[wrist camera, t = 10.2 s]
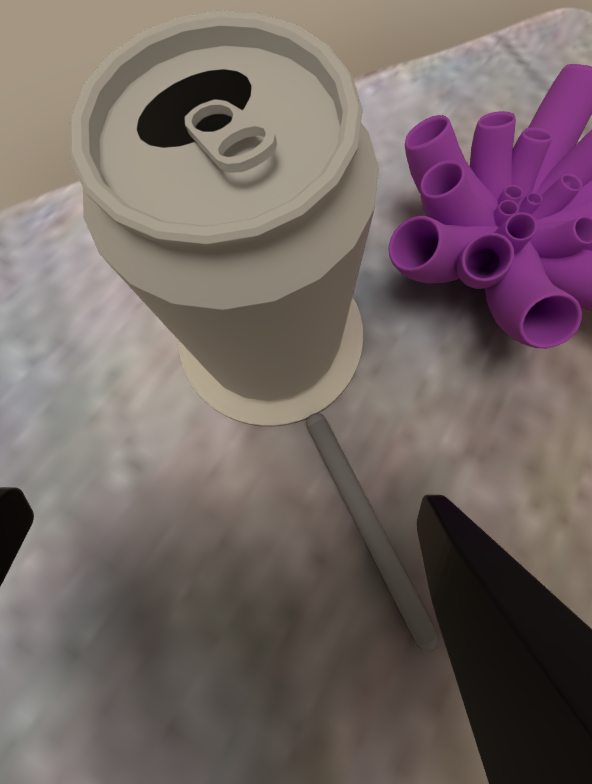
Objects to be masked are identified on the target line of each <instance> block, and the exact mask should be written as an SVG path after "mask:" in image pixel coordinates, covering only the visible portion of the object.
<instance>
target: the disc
mask: <svg viewBox="0 0 592 784" xmlns="http://www.w3.org/2000/svg"><path fill="white" fill-rule="evenodd" d="M362 347H363V325H362V320H361V315H360V312H359V309H358V306H357V304H356V302H355V300H354V298H353V297H352V301H351V305H350V309H349V313H348V317H347V321H346V325H345V329H344V333H343V337H342V341H341V345H340V349H339V351H338V353H337V355H336V357H335V359H334V361H333V363H332V365H331V367H330V369H329V371H328V372H327V373H326V374H325V375H324V376H323V377H322V378H321V379H320V380H319V381H318V382H317V383H316V384H315V385H314V386H312V387H310V388H308V389H306V390H304V391H303V392H301V393H299V394H297V395H295V396H293V397H289V398H283V399H277V400H272V401H264V400H257V399H249V398H244V397H242V396H240V395H238V394H236V393H234V392H232V391H230V390H228V389H225V388H224V387H223V386H222V385H221V384H220V383H219V382H218V381H217V380H216V379H215V378H214V377H213V376H212V375H211V374H210V373H209V372H208V371H207V370H206V369H205V368H204V367H203V366H202V365H201V364H200V363H199V362H198V361H197V359H196V358H195V357H194V356H193V355H192V354H191V353H190V352H189V351H188V350H187V349H186V347H185V346H184V345H183V344H182V343H181V342H180V341H179V353H180V358H181V363H182V366H183V369H184V372H185V374H186V376H187V378H188V380H189V382H190V383H191V385H192V386H193V388H194V389H195V390H196V392H197V393H198V394H199V395H200V396H201V397H202V398H203V399H204V400H205V401H206V402H207V403H208V404H209V405H211V406H212V407H213V408H214V409H216V410H217V411H219V412H220V413H222V414H224V415H226V416H227V417H230V418H232V419H234V420H237V421H240V422H243V423H247V424H252V425H259V426H279V425H286V424H291V423H295V422H298V421H301V420H304V419H306V418H308V417H309V416H310V415H312V414H314V413H318V412H320V411H322V410H323V409H325V408H326V407H327V406H328V405H330V404H331V403H332V402H333V401H334V400H335V399H336V398H337V397H338V396H339V395H340V394H341V393H342V392H343V391H344V389H345V388H346V387H347V385H348V384H349V382H350V380H351V379H352V377H353V375H354V373H355V371H356V368H357V366H358V363H359V361H360V357H361V352H362Z"/></svg>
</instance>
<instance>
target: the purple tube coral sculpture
mask: <svg viewBox="0 0 592 784" xmlns="http://www.w3.org/2000/svg"><path fill="white" fill-rule="evenodd" d="M591 115H592V67H591V66H587V65H579V64H569V65H566V66H565V67H564V68H563V69H562V70H561V72H560V73H559V75H558V76H557V78H556V79H555V81H554V82H553V84H552V86H551V88H550V89H549V91H548V93H547V94H546V96H545V98H544V99H543V101H542V103H541V105H540V106H539V108H538V110H537V112H536V114H535V116H534V118H533V120H532V122H531V123H530V125H529V127H528V128H527V129H525V130H524V131H523V132H522V133H521V135H520V137H519V138H518V140H517V142H516V144H515V146H514V148H513V140H514V132H515V122H516V119H515V115H514V114H513V113H510V112H505V111H503V112H493V113H489V114H487V115H484V116H483V117H481V118H480V120H479V121H478V123H477V126H476V129H475V132H474V137H473V142H472V147H471V158H470V166H469V165H468V163H467V162H466V160H465V158H464V156H463V154H462V152H461V149H460V147H459V145H458V142H457V139H456V136H455V133H454V130H453V128H452V125H451V123H450V120H449V119H448V118H447V117H446V116H444V115H437V116H433V117H430V118H428V119H425V120H424V121H422V122H420V123H419V124H418V125H416V126H415V127H414V128H413V129H412V130H411V131H410V132H409V133H408V135H407V137H406V140H405V150H406V157H407V161H408V164H409V168H410V172H411V175H412V178H413V180H414V182H415V184H416V187H417V189H418V191H419V193H420V194H421V200H422V204H423V208H424V211H425V213H426V215H427V216H416V217H413V218H410V219H407V220H406V221H405V222H403V223H402V224H400V225H399V226H398V228H397V229H396V230H395V231H394V233H393V235H392V237H391V239H390V244H389V256H390V259H391V261H392V263H393V265H394V266H395V267H396V268H397V269H398V270H399V271H400V272H401V273H402V274H403V275H405V276H406V277H408V278H410V279H412V280H415V281H419V282H423V283H432V284H433V283H444V282H450V281H454V280H458V279H460V280H461V281H462V282H463V283H464V284H465V285H467V286H469V287H471V288H477V289H483V288H485V293H486V298H487V304H488V306H489V308H490V311H491V313H492V315H493V317H494V319H495V321H496V323H497V325H498V326H499V327H500V328H501V329H502V330H503V331H504V332H505V333H506V334H507V335H509V336H510V337H511V338H512V339H514V340H516V341H518V342H520V343H522V344H525V345H528V346H530V347H535V348H551V347H555V346H558V345H560V344H562V343H564V342H566V341H567V340H569V339H570V338H571V337H572V336H573V335H574V334H575V333H576V331H577V330H578V328H579V327H580V324H581V321H582V309H581V308H584V309H587V310H590V311H592V130H591V131H590V132H589V133H588V134H587V135H585V136H584V137H583V138H582V139H581V140H580V141H579V142H578V140H579V138H580V136H581V134H582V132H583V130H584V128H585V126H586V124H587V122H588V120H589V118H590V117H591ZM577 142H578V143H577Z"/></svg>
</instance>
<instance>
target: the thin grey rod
mask: <svg viewBox="0 0 592 784" xmlns="http://www.w3.org/2000/svg"><path fill="white" fill-rule="evenodd" d="M307 427H308V429H309V431H310V433H311V435H312V437H313V439H314V441H315V443H316V445H317V447H318V449H319V451H320V453H321V455H322V457H323V459H324V461H325V463H326V465H327V467H328V469H329V471H330V473H331V475H332V477H333V479H334V481H335V483H336V485H337V487H338V489H339V491H340V493H341V495H342V497H343V499H344V501H345V503H346V505H347V507H348V509H349V511H350V513H351V515H352V517H353V519H354V521H355V523H356V525H357V527H358V529H359V531H360V533H361V535H362V537H363V539H364V541H365V543H366V545H367V547H368V549H369V551H370V553H371V555H372V557H373V559H374V561H375V563H376V565H377V567H378V569H379V571H380V573H381V575H382V577H383V578H384V580H385V582H386V584H387V586H388V588H389V590H390V592H391V594H392V596H393V598H394V600H395V602H396V604H397V606H398V608H399V610H400V612H401V614H402V616H403V618H404V620H405V622H406V624H407V626H408V628H409V630H410V632H411V634H412V636H413V638H414V640H415V642H416V644H417V645H418V647H419V648H420V649H422V650H424V651H426V652H431V651H433V650H435V649H436V648H437V646H438V642H439V639H438V635H437V632H436V630H435V628H434V627H433V625H432V623H431V621H430V619H429V617H428V615H427V613H426V611H425V609H424V607H423V605H422V603H421V602H420V600H419V598H418V596H417V594H416V592H415V590H414V588H413V586H412V584H411V582H410V580H409V578H408V577H407V575H406V573H405V571H404V569H403V567H402V565H401V563H400V561H399V559H398V557H397V555H396V553H395V552H394V550H393V548H392V546H391V544H390V542H389V540H388V538H387V536H386V534H385V532H384V530H383V528H382V527H381V525H380V523H379V521H378V519H377V517H376V515H375V513H374V511H373V509H372V507H371V505H370V503H369V502H368V500H367V498H366V496H365V494H364V492H363V490H362V488H361V486H360V484H359V482H358V480H357V478H356V476H355V475H354V473H353V471H352V469H351V467H350V465H349V463H348V461H347V459H346V457H345V455H344V453H343V451H342V450H341V448H340V446H339V444H338V442H337V440H336V438H335V436H334V434H333V432H332V430H331V428H330V426H329V425H328V423H327V421H326V419H325V417H324V416H323V415H321V414H319V413H314V414H312V415H310V416H309V417H308V419H307Z"/></svg>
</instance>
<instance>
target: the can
mask: <svg viewBox="0 0 592 784" xmlns="http://www.w3.org/2000/svg"><path fill="white" fill-rule="evenodd" d="M362 111H363V110H362V107H361V103H360V100H359V96H358V93H357V89H356V86H355V82H354V79H353V76H352V75H351V74H350V72H349V71H348V70H347V68H346V67H345V66H344V65H343V63H342V62H341V61H340V59H339V58H338V57H337V56H336V55H335V53H334V52H333V51H332V49H331V48H330V47H329V46H328V45H327V44H325V43H323V42H322V41H320V40H319V39H317V38H316V37H314V36H313V35H311V34H310V33H308V32H307V31H305V30H304V29H302V28H301V27H299V26H297V25H295V24H292V23H288V22H286V21H282V20H279V19H276V18H273V17H270V16H266V15H263V14H260V13H245V12H230V11H215V12H209V13H203V14H196V15H190V16H184V17H179V18H176V19H173V20H171V21H168V22H166V23H163V24H161V25H158V26H156V27H153V28H151V29H148V30H146V31H143V32H141V33H139V34H138V35H136V36H135V37H133V38H132V39H131V40H129V41H128V42H127V43H125V44H124V45H122V46H121V47H119V48H118V49H116V50H115V51H114V52H112V53H111V54H109V55H108V56H107V57H106V59H105V60H104V61H103V62H102V64H101V65H100V66H99V67H98V68H97V70H96V71H95V72H94V73H93V74H92V76H91V77H90V78H89V79H88V81H87V82H86V83H85V84H84V87H83V89H82V92H81V94H80V97H79V100H78V102H77V105H76V107H75V110H74V112H73V115H72V118H71V121H70V159H71V162H72V164H73V166H74V168H75V171H76V173H77V175H78V177H79V179H80V182H81V184H82V186H83V208H84V220H85V222H86V224H87V226H88V229H89V231H90V233H91V236H92V238H93V240H94V242H95V245H96V247H97V249H98V252H99V254H100V255H101V256H102V257H103V258H104V259H105V260H106V262H107V263H108V264H109V265H110V266H111V267H112V268H113V269H114V270H115V271H116V272H117V274H118V275H119V276H120V277H121V278H122V279H123V280H124V281H125V282H126V283H127V284H128V285H129V287H130V288H131V289H132V290H133V291H134V292H135V293H136V294H137V295H138V296H139V297H140V299H141V300H142V301H143V302H144V303H145V304H146V305H147V306H148V307H149V308H150V309H151V310H152V312H153V313H154V314H155V315H156V316H157V317H158V318H159V319H160V320H161V321H162V322H163V324H164V325H165V326H166V327H167V328H168V329H169V330H170V331H171V332H172V333H173V334H174V335H175V337H176V338H177V339H178V340H179V341H180V342H181V343H182V344H183V345H184V346H185V347H186V349H187V350H188V351H189V352H190V353H191V354H192V355H193V356H194V357H195V358H196V359H197V361H198V362H199V363H200V364H201V365H202V366H203V367H204V368H205V369H206V370H207V371H208V372H209V373H210V374H211V375H212V376H213V377H214V378H215V379H216V380H217V381H218V382H219V383H220V384H221V385H222V386H223V387H224V388H225V389H228V390H230V391H232V392H234V393H236V394H238V395H240V396H242V397H244V398H249V399H257V400H264V401H272V400H277V399H283V398H289V397H293V396H295V395H297V394H299V393H301V392H303V391H304V390H306V389H308V388H310V387H312V386H314V385H315V384H316V383H317V382H318V381H319V380H320V379H321V378H322V377H323V376H324V375H325V374H326V373H327V372H328V371H329V369H330V367H331V365H332V363H333V361H334V359H335V357H336V355H337V353H338V351H339V349H340V345H341V341H342V337H343V333H344V329H345V325H346V321H347V317H348V313H349V309H350V305H351V301H352V297H353V292H354V288H355V284H356V280H357V276H358V272H359V268H360V264H361V260H362V256H363V252H364V248H365V244H366V240H367V236H368V232H369V228H370V224H371V220H372V216H373V212H374V208H375V199H376V190H377V180H378V171H379V168H378V164H377V161H376V157H375V154H374V150H373V147H372V143H371V140H370V136H369V133H368V131H367V130H366V129H365V127H364V126H363V125H362V123H361V119H362Z"/></svg>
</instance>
